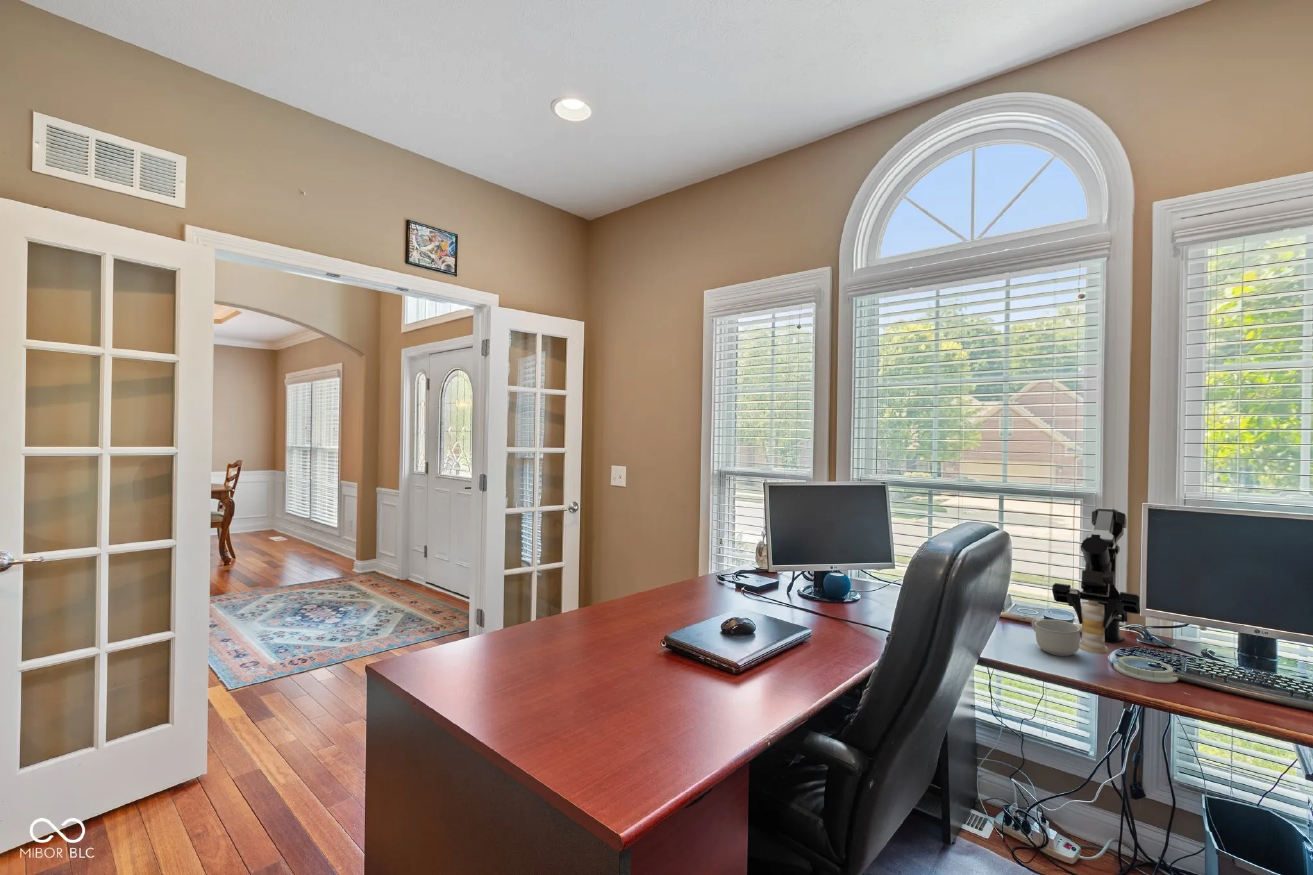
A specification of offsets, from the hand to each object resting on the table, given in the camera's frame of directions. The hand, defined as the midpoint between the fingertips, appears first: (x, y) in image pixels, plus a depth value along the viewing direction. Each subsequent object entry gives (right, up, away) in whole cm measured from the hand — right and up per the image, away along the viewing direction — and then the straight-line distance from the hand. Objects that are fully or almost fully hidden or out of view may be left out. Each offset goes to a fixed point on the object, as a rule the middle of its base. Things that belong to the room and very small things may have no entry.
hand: (1092, 625), depth 154 cm
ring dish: (+14, -12, 0) cm, 18 cm away
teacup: (+1, -13, +16) cm, 20 cm away
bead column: (+1, -7, +1) cm, 7 cm away
